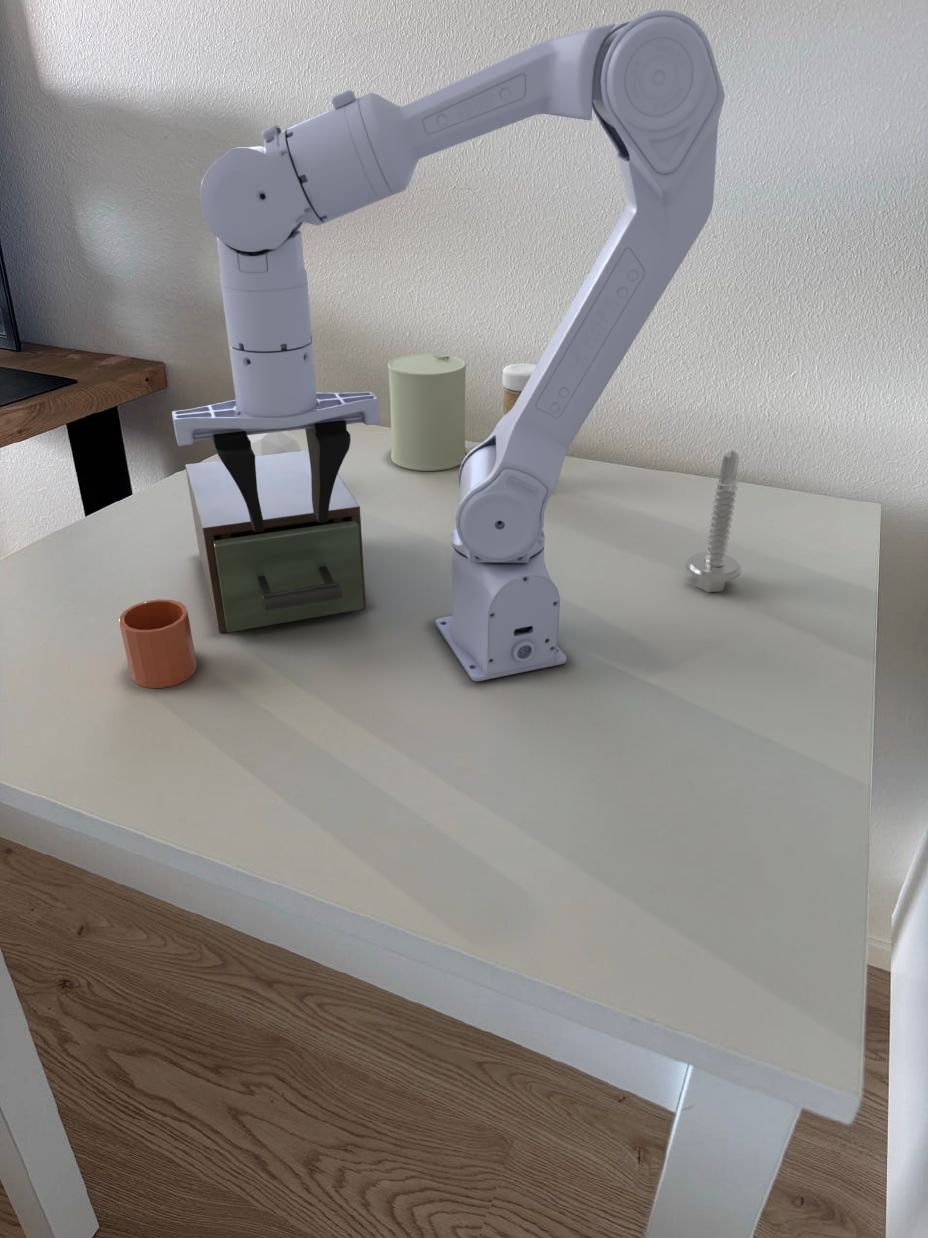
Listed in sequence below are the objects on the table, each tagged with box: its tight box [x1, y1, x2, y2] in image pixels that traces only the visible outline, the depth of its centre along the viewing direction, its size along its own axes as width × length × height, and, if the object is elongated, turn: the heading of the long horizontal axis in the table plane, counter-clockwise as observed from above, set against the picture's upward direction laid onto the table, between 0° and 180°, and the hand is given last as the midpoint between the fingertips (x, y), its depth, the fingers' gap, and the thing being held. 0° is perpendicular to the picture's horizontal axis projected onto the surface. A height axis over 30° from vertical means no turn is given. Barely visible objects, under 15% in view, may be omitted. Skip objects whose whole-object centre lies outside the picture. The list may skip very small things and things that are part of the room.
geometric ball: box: [247, 431, 302, 456], centre depth 100 cm, size 8×8×8 cm
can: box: [387, 353, 467, 472], centre depth 108 cm, size 9×9×12 cm
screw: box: [685, 450, 742, 593], centre depth 79 cm, size 13×5×5 cm
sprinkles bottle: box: [501, 363, 537, 418], centre depth 100 cm, size 5×5×14 cm
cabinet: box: [184, 449, 367, 634], centre depth 81 cm, size 15×13×10 cm
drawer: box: [213, 518, 364, 633], centre depth 77 cm, size 18×11×8 cm, turn 20°
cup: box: [118, 598, 198, 689], centre depth 69 cm, size 5×5×5 cm
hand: (289, 522), depth 70 cm, fingers open, 4 cm apart
